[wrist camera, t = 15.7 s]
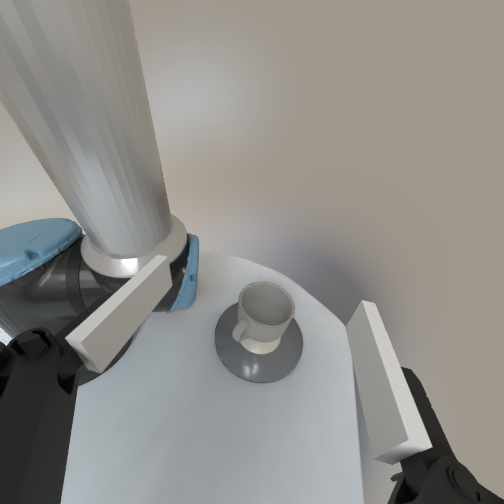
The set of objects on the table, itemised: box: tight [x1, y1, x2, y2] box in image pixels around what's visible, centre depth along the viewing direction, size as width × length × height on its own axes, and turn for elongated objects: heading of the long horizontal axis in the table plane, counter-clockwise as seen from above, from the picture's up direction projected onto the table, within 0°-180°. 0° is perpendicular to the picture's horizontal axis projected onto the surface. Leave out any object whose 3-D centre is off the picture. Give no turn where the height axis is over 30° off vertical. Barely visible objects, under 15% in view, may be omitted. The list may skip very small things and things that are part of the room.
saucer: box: [215, 303, 303, 383], centre depth 41 cm, size 18×18×1 cm
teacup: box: [232, 282, 295, 343], centre depth 39 cm, size 14×11×8 cm
